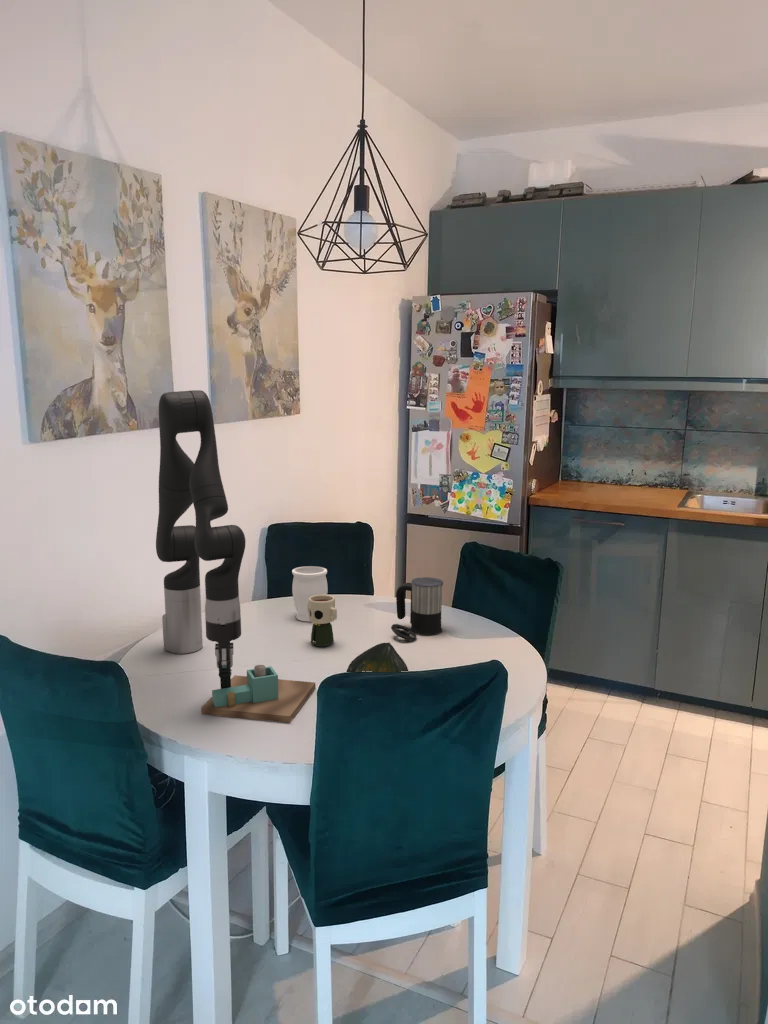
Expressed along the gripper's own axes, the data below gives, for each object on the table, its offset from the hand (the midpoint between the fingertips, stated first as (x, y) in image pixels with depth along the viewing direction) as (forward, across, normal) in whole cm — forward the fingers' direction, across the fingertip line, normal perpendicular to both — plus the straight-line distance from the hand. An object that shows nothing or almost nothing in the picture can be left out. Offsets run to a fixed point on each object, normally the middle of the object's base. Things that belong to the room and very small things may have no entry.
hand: (225, 690), depth 163 cm
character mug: (+3, -33, +25) cm, 42 cm away
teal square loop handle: (+1, +3, +4) cm, 5 cm away
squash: (+3, +8, +33) cm, 34 cm away
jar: (+4, -56, +24) cm, 61 cm away
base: (+3, +1, +8) cm, 8 cm away
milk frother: (+4, -36, +53) cm, 64 cm away
